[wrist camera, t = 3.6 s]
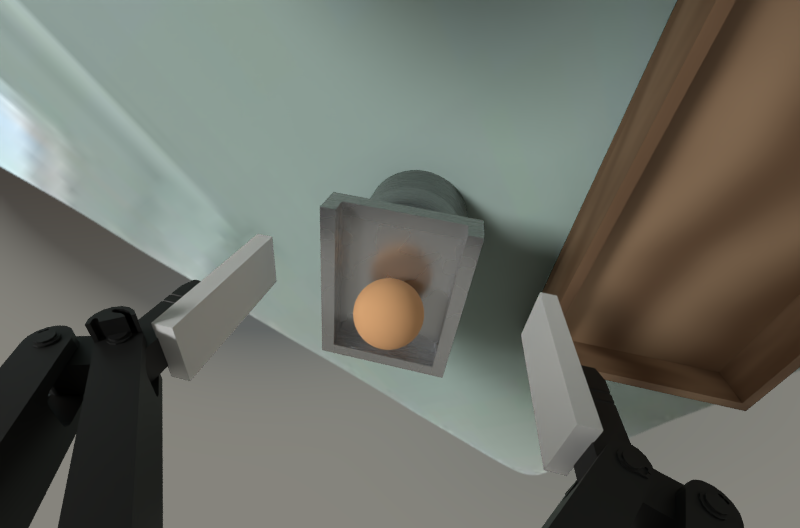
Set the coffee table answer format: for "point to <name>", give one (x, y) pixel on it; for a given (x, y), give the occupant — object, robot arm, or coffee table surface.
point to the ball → (388, 313)
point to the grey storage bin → (399, 263)
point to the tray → (697, 214)
